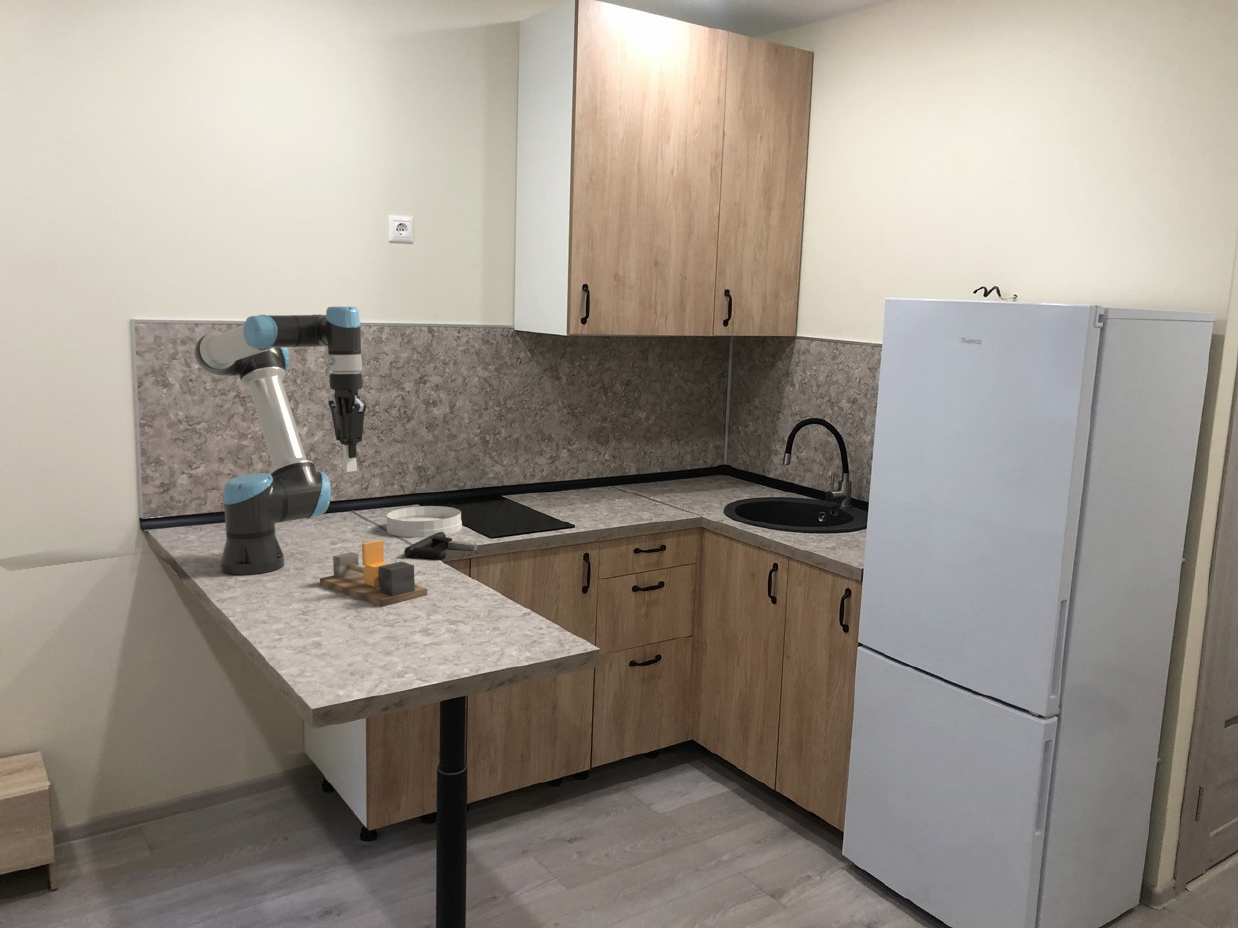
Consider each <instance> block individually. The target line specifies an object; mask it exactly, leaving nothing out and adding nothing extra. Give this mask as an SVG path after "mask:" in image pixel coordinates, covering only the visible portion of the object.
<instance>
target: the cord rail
mask: <svg viewBox="0 0 1238 928" xmlns="http://www.w3.org/2000/svg"><path fill="white" fill-rule="evenodd" d="M332 562H333V564H332V565H333V566H332V567H333V575H329V576H325V577H324V576H323V577H321V578H319V585H320V586H322V587H326V588H329V589H332V590H335V591H338V592H341V593H343V594H345V595H349V596H351V597H354V598H356V599H360V600H363V601H366V602H370V603H372V604H374V605H378V606H380V607H386V606H390V605H393V604H397V603H401V602H405V601H409V600H413V599H416V598H421V597H423V596H424V595H425V596H427V595H428V588H426V587H424V586H420V585H417V584H416V583H415V565H414V564H411V563H407V562H404V561H397V562H392V563H387V565H383V566H379V572H378V577H379V586H375V587H374V586H371V585H368V584H365V582H364V567H365V566H361V565H359V553H356V552H353V551H349V552H344V553H340V554H335V555H332ZM425 596H424V597H425Z"/></svg>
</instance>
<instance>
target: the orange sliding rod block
mask: <svg viewBox="0 0 1238 928" xmlns="http://www.w3.org/2000/svg"><path fill="white" fill-rule="evenodd" d="M384 550H385V549H384V540H382V539H377V540H373V541H368V542H363V543H361V560H362V562H361V563H362V565H363V567H364V582H365V584H368V585H371V586H374V587H375V586H379V577H378V572H379V566H383V565H387V564H388V563H387V562H385V554H384Z"/></svg>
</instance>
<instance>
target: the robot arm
mask: <svg viewBox="0 0 1238 928" xmlns="http://www.w3.org/2000/svg"><path fill="white" fill-rule="evenodd" d="M325 311H326V313H325V314H320V313H318V314H298V315H297V314H294V315H293V314H292V315H291V314H289V315H288V314H287V315H278V314H277V315H273V314H272V315H271V314H268V315H266V314H258V315H251V316H248V317H247V318H246V320H245V322H244V324H243V325H241V326H238V327H234V328H232V329H229V330H227V331H212V332H209V333H207V334H204V335H202V336H201V337H200V338H198V340H197V341H196V343H195V346H194V358H195V361H196V362H197V363H198V365H199V366H200V367H201V368H202V369H203V370H204V371H206V372H208V373H209V374H212V375H216V376H224V377H225V376H227V377H230V376H238V377H239V379H240V383H241V385H242V386H243V387H244V388H248V389H249V392H250V394H251V398H252V402H253V404H254V409H255V411H256V414H257V418H258V421H259V424H260V428H261V431H262V434H263V438H264V441H265V444H266V447H267V451H268V454H269V457H270V459H271V463H272V467H273V469H272V470H271V472H270V473H268V472H257V473H249V474H244V475H239V476H237V477H234V478H232V479H230V480H228V481H227V482H226V483H225V484H224V486H223V498H222V502H223V507H224V508H223V510H224V520H225V521H224V525H225V532H226V533H225V537H226V540H225V544H224V547H223V552H222V556H221V558H220V570H222V571H223V572H222V571H221V572H222V573H224V572H225V574H228V573H229V574H228V575H240V576H241V575H256V574H263V573H269V572H272V571H276V570H279V569H281V568H283V567H284V566H285V556H284V553H283V551H282V548H281V546H280V544H279V541H278V539H277V535H276V524H277V523H286V522H291V521H297V520H303V519H307V520H308V519H312V518H313V517H319V516H322V515H324V514H325V513H326V512H327V510H328V508H329V506H330V504H331V503H330V502H331V497H332V487H331V481H330V479H329V477H328V475H327V474H326V473H325V472H324V471H317V468H316V465H315V462H313V461H311V460H308V459H307V456H306V453H305V449H304V447H303V443H302V440H301V437H300V435H299V431H298V427H297V424H296V422H295V417H294V415H293V411H292V408H291V405H290V401H289V398H288V396H287V393H286V389H285V386H284V383H283V380H284V378H285V376H286V371H287V370H288V368H289V364H290V359H289V356H290V354H289V350H288V348H307V347H308V348H309V347H311V348H312V347H327V354H328V360H327V361H328V371H330V372H331V373H330V374H329V376H328V377H329V388H330V390H333V391H334V393H333V399H331V400H328V407H329V409H330V413H331V418H332V423H333V429H334V434H335V436H334V437H335V439H336V441H339V442H340V445H341V447H342V448H341V450H342V462H343V466H342V467H343V468H342V469H343V473H351V472H357V471H358V466H357V444H358V443H361V442H362V441H363V432H364V421H365V413H366V409H367V407H368V405H367V403H366V402H362V401H361V400H360V399H361V397H360V393H359V391H360V390H361V389H363V384H364V383H363V374H362V372H361V371H362V370H363V364H362V363H363V362H362V361H363V358H362V335H361V334H362V333H361V324H362V323H361V321H360V320H361V318H360V310H359V309H358V307H355V306H328V307H327V309H326V310H325ZM360 372H361V373H360Z"/></svg>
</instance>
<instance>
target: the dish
mask: <svg viewBox="0 0 1238 928" xmlns="http://www.w3.org/2000/svg"><path fill="white" fill-rule="evenodd" d="M385 527H386V532H387V534H389V535H392V536H395V537H404V538H427V537H429V536H431V535H434V534H436V533H438V532H444V533H445V535H446V536H447V535H452V534H454V533H458V532H459V531H461V530H462V527H463V522H462V511H461V510H460V509H457V508H455V507H449V506H444V505H443V506H442V505H441V506H440V505H436V506H435V505H423V506H422V505H421V506H412V507H411V506H410V507H404V508H399V509H395V510H392V511H390V512H388V513H387V514H386V526H385Z"/></svg>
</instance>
